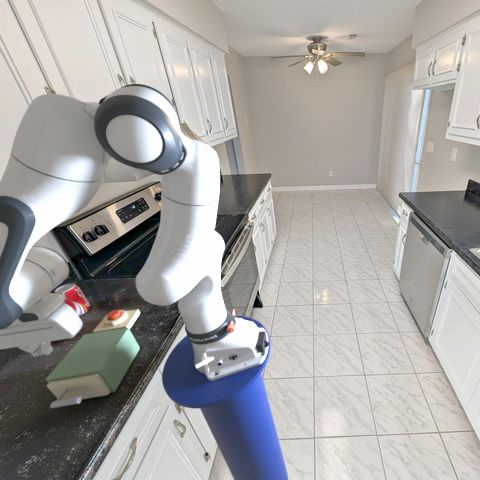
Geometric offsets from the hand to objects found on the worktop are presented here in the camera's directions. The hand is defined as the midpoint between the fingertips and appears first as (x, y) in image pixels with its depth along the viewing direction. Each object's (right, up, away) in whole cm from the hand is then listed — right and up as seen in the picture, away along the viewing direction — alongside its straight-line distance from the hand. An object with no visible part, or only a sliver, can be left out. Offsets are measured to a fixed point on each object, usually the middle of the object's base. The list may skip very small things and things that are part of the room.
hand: (44, 353), depth 61 cm
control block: (-8, -4, +33) cm, 34 cm away
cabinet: (+2, -12, +15) cm, 20 cm away
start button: (-8, -1, +31) cm, 32 cm away
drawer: (+2, -13, +11) cm, 18 cm away
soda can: (-30, -2, +41) cm, 50 cm away
